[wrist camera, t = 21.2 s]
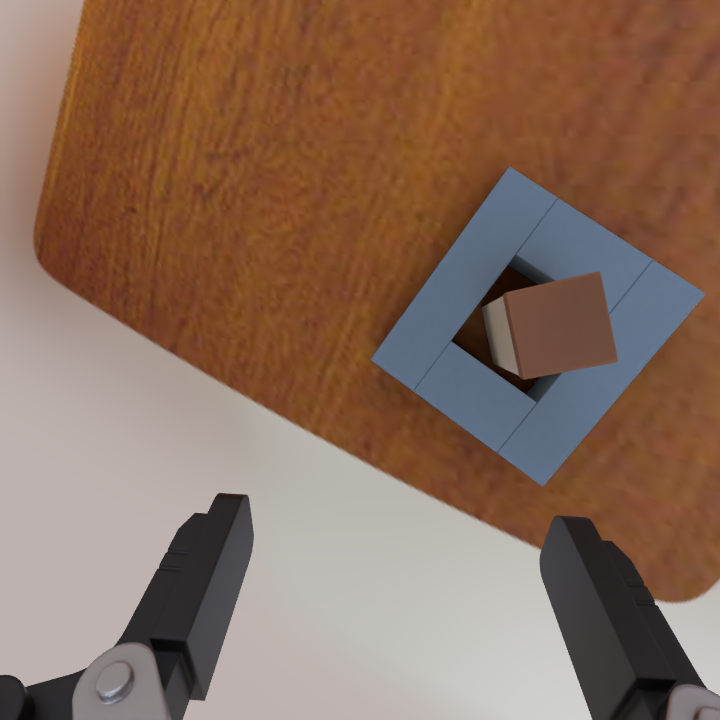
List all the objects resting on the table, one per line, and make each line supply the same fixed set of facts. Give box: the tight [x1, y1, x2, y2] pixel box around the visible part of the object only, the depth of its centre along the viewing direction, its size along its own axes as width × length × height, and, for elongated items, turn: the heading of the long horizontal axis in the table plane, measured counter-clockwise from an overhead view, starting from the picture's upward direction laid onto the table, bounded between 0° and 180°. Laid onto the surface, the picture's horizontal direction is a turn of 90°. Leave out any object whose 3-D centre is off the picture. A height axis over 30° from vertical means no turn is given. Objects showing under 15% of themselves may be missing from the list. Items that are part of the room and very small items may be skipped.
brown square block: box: [481, 271, 618, 380], centre depth 21 cm, size 4×4×9 cm
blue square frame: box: [371, 167, 705, 486], centre depth 24 cm, size 13×12×3 cm
